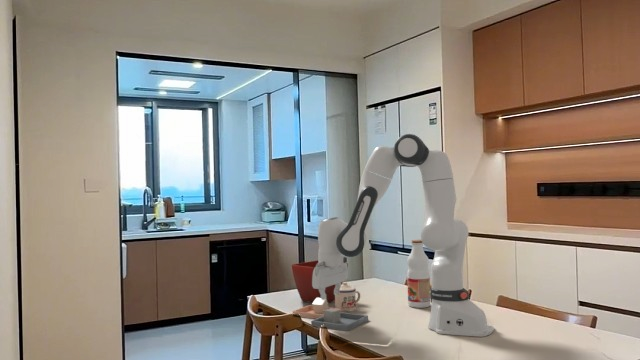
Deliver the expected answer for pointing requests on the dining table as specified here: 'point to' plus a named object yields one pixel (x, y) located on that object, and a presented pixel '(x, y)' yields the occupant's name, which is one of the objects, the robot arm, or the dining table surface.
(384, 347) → the dining table surface
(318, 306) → the stone
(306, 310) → the tray
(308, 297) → the plant pot
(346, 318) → the tray
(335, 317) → the stone
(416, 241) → the fruit juice
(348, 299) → the teacup with lid
